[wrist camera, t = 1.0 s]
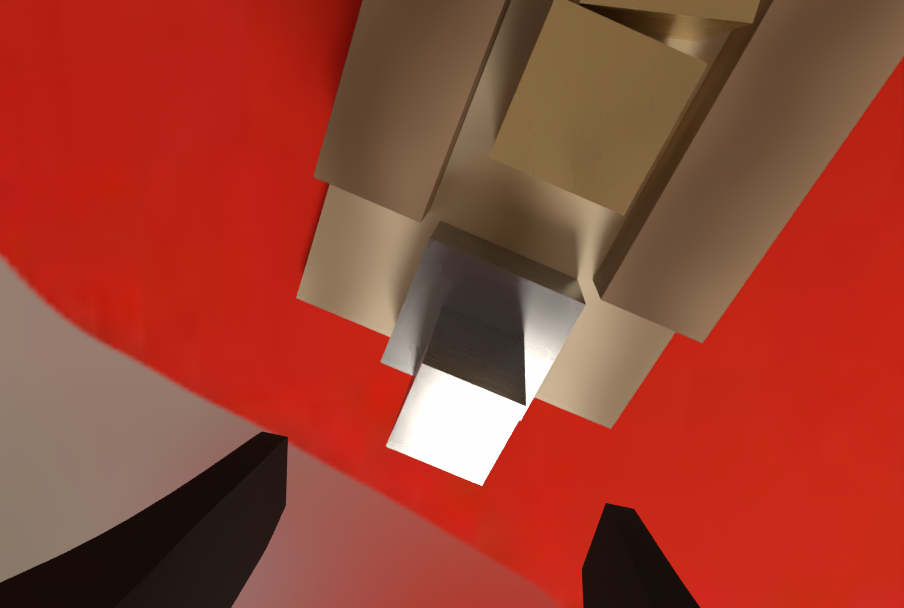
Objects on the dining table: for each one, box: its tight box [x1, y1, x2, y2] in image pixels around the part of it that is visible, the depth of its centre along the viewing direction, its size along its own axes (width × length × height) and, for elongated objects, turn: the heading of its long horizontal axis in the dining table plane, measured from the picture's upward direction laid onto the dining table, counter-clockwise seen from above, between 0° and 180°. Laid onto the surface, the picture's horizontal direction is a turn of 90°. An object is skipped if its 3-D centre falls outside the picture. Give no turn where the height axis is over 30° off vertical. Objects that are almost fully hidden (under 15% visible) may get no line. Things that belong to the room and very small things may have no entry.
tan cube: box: [489, 0, 708, 215], centre depth 15 cm, size 4×4×4 cm
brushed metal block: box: [381, 221, 586, 485], centre depth 16 cm, size 6×5×6 cm
